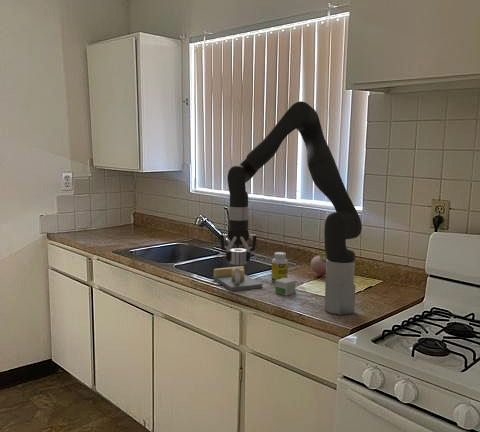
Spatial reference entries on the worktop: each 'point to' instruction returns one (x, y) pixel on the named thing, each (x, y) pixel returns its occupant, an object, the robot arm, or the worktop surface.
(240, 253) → the planet gear
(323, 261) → the decorative fruit
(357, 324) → the worktop surface
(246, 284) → the carrier
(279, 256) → the pill bottle
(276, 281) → the small box
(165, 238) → the worktop surface
